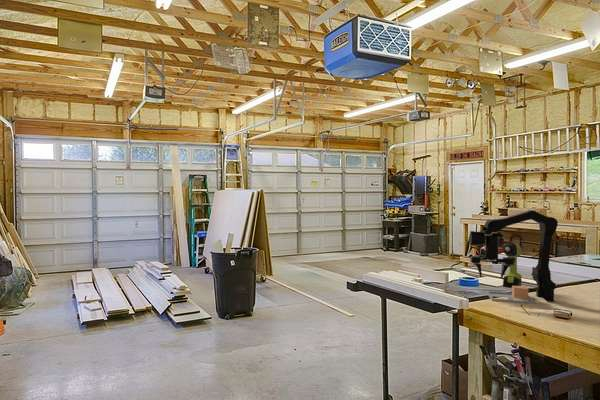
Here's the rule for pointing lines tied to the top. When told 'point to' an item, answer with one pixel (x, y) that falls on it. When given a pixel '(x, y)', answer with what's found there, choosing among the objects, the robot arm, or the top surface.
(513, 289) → the block
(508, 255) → the cordless drill
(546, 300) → the robot arm
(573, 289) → the top surface
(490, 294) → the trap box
